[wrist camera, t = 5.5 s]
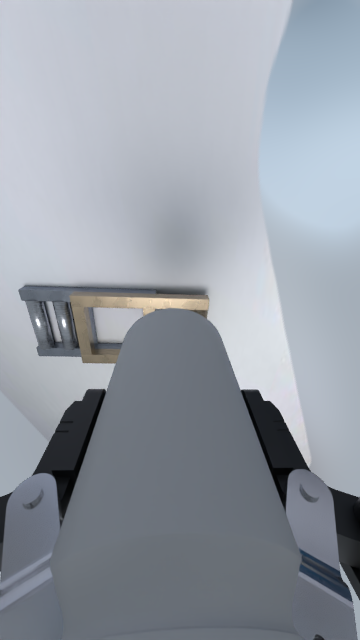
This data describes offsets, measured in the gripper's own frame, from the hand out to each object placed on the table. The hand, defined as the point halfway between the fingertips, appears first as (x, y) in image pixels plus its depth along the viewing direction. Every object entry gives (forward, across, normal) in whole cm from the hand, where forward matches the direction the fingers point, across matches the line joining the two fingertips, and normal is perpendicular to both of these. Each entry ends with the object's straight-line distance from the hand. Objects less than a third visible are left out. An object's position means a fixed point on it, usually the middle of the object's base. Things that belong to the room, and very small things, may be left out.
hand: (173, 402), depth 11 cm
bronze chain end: (+22, +4, +8) cm, 24 cm away
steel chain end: (+22, +11, +8) cm, 26 cm away
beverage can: (+5, 0, 0) cm, 5 cm away
